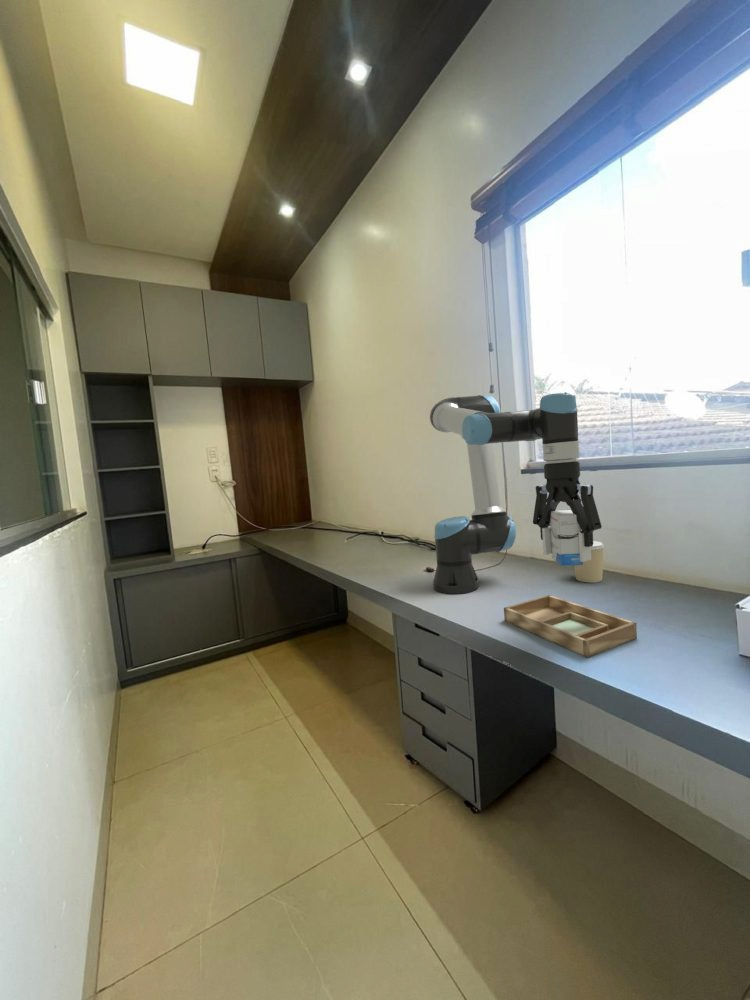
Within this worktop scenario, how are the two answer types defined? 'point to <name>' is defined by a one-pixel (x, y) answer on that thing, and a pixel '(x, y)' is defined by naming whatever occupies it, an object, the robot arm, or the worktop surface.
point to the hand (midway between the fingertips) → (566, 556)
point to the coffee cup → (591, 565)
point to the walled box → (571, 625)
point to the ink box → (565, 537)
